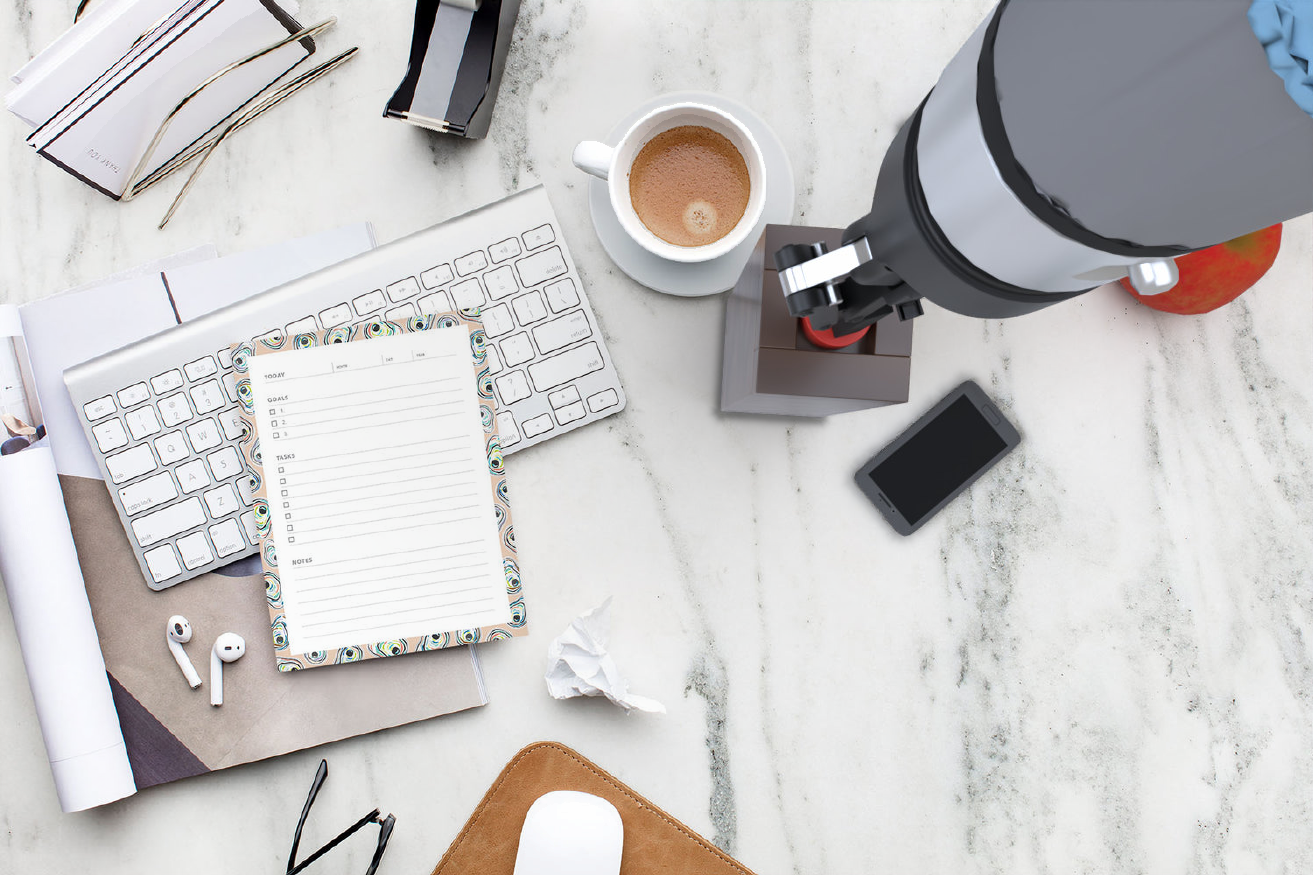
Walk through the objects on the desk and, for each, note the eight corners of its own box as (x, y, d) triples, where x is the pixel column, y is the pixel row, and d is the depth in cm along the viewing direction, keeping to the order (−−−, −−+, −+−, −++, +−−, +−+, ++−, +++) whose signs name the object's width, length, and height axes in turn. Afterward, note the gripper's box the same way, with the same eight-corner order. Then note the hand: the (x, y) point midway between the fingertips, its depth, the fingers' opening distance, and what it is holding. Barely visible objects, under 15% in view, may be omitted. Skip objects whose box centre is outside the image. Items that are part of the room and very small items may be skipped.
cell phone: (1021, 439, 69) (1025, 439, 69) (902, 539, 69) (905, 540, 69) (968, 377, 70) (972, 376, 69) (850, 476, 69) (852, 476, 69)
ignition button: (801, 282, 47) (806, 275, 45) (866, 286, 47) (875, 280, 45) (797, 347, 47) (802, 343, 45) (862, 352, 47) (871, 348, 45)
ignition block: (727, 299, 70) (766, 223, 46) (827, 306, 70) (919, 233, 46) (720, 410, 70) (755, 393, 46) (820, 417, 70) (908, 402, 46)
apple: (1190, 339, 70) (1286, 321, 59) (1079, 291, 70) (1156, 264, 59) (1237, 230, 70) (1342, 191, 59) (1126, 182, 70) (1212, 134, 59)
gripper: (858, 360, 21) (750, 406, 45) (1310, 227, 21) (966, 343, 45) (780, 99, 21) (714, 282, 45) (1231, -32, 22) (929, 219, 45)
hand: (840, 312), depth 45 cm, fingers closed
